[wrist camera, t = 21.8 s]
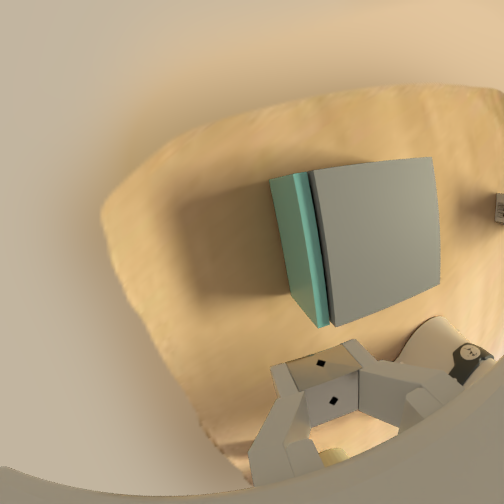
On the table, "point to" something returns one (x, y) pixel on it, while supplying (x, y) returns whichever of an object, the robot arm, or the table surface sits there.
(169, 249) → the table surface
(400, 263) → the gray drawer box
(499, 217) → the coffee box
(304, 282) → the teal drawer
